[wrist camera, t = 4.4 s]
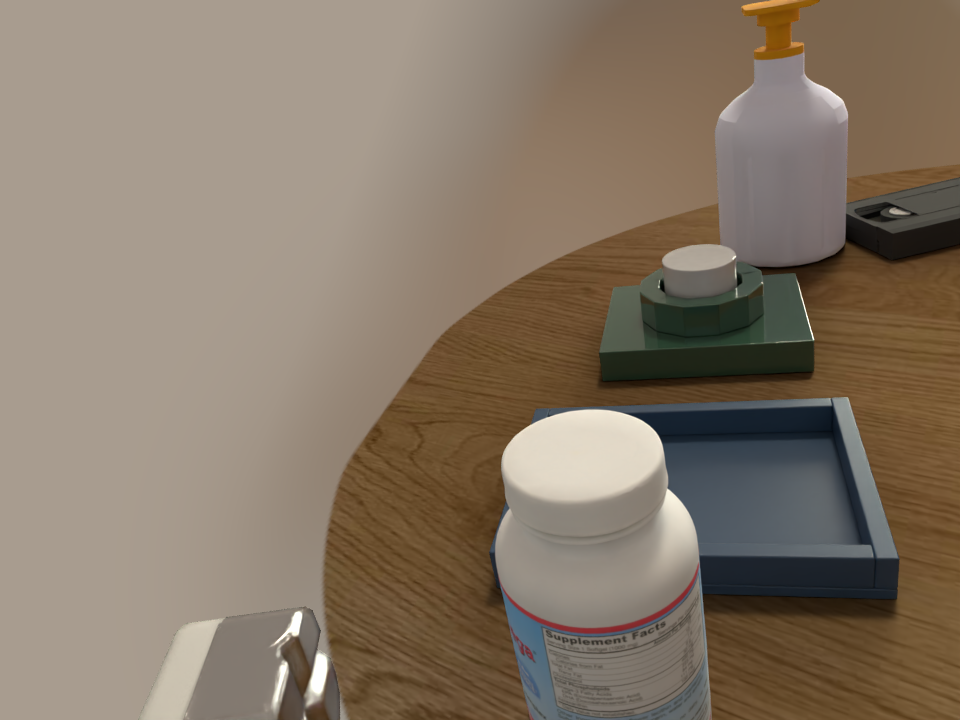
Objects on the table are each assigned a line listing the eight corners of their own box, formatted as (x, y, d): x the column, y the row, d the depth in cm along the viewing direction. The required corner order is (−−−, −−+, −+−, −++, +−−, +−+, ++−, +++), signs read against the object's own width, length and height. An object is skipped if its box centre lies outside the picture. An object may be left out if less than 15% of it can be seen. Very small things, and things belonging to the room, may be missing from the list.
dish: (496, 588, 35) (488, 552, 34) (540, 439, 44) (535, 408, 44) (897, 599, 30) (899, 558, 29) (847, 431, 40) (848, 396, 39)
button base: (602, 381, 49) (594, 322, 47) (616, 312, 57) (610, 260, 56) (814, 371, 45) (814, 307, 44) (795, 300, 54) (795, 244, 52)
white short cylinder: (663, 304, 49) (660, 273, 48) (665, 277, 52) (662, 247, 52) (739, 299, 47) (737, 266, 46) (735, 271, 51) (734, 241, 50)
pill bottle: (543, 651, 31) (492, 401, 26) (707, 653, 29) (685, 388, 25) (522, 799, 26) (453, 521, 21) (720, 810, 24) (697, 514, 19)
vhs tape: (997, 191, 65) (1000, 167, 64) (1078, 216, 58) (1082, 189, 57) (830, 230, 64) (831, 206, 63) (891, 260, 57) (893, 233, 56)
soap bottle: (718, 234, 68) (701, -95, 57) (835, 223, 65) (840, -124, 54) (723, 274, 60) (705, -98, 49) (856, 263, 57) (867, -131, 47)
